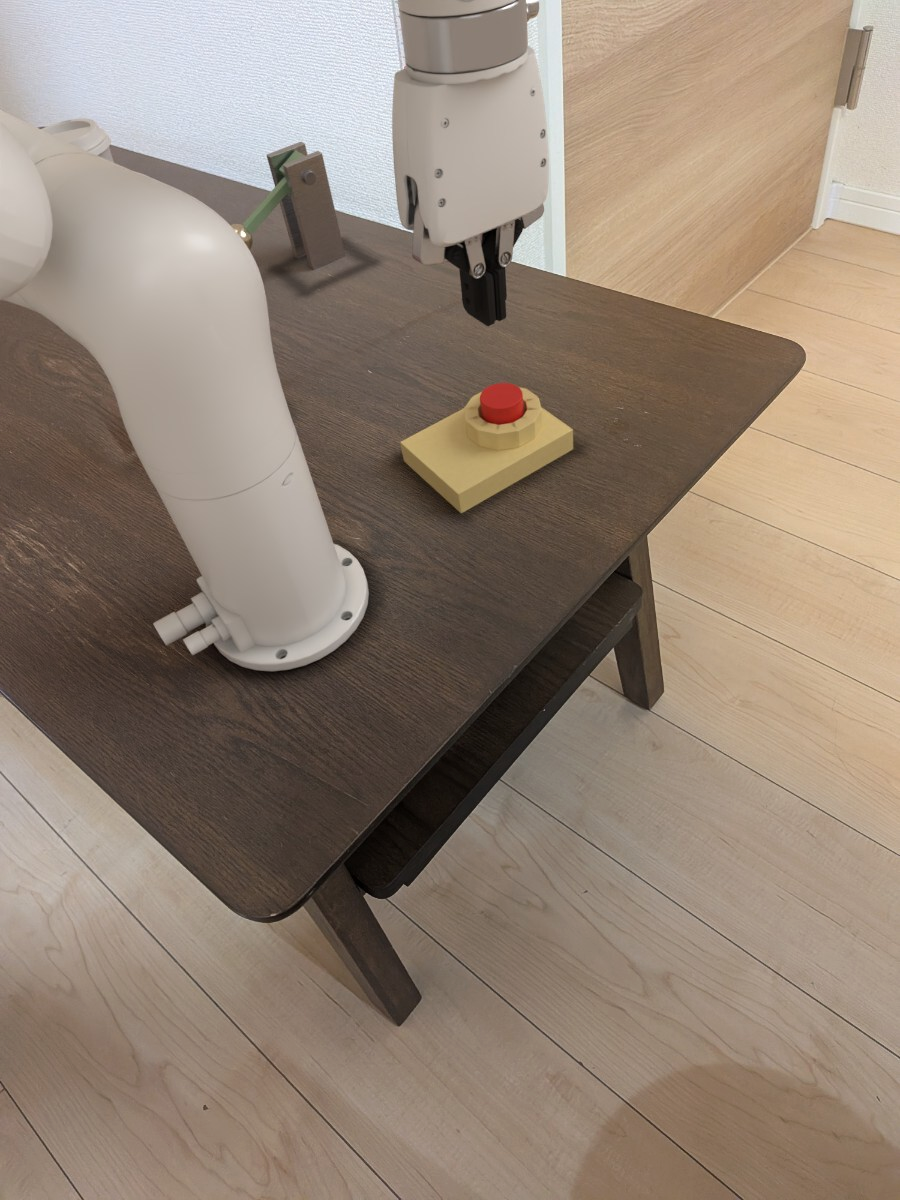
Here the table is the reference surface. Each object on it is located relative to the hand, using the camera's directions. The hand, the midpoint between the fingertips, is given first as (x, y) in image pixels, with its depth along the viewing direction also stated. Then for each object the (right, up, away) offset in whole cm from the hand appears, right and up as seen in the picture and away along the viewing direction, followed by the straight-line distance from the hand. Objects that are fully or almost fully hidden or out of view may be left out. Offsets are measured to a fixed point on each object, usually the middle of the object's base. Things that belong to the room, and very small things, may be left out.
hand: (485, 315), depth 63 cm
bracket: (-18, +18, +36) cm, 44 cm away
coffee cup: (-46, +23, +45) cm, 68 cm away
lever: (-22, +21, +29) cm, 42 cm away
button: (+2, -6, +7) cm, 9 cm away
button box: (+1, -9, +9) cm, 13 cm away
